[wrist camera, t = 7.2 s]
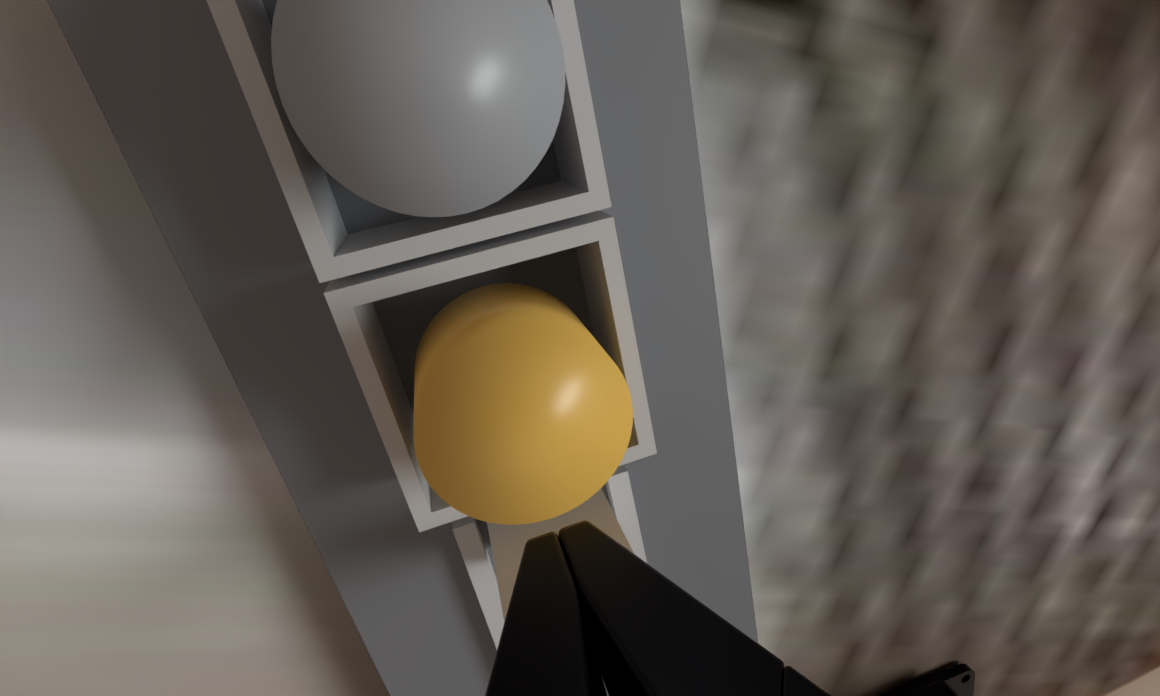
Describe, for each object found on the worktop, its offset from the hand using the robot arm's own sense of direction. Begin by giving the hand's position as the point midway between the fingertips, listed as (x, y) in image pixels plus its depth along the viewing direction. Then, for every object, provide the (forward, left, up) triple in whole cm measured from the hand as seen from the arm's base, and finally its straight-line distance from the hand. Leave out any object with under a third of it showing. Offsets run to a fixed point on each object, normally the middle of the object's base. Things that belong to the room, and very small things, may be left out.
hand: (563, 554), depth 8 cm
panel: (-4, 0, -10) cm, 11 cm away
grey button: (+6, 0, -6) cm, 9 cm away
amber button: (0, 0, -6) cm, 6 cm away
